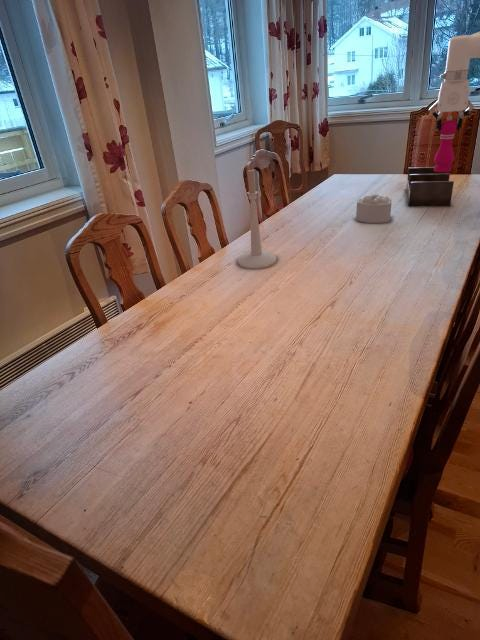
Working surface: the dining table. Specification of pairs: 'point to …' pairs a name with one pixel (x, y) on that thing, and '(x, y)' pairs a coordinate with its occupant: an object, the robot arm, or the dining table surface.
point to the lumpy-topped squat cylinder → (374, 209)
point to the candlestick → (255, 235)
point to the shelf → (428, 187)
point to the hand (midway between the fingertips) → (448, 129)
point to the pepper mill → (445, 146)
